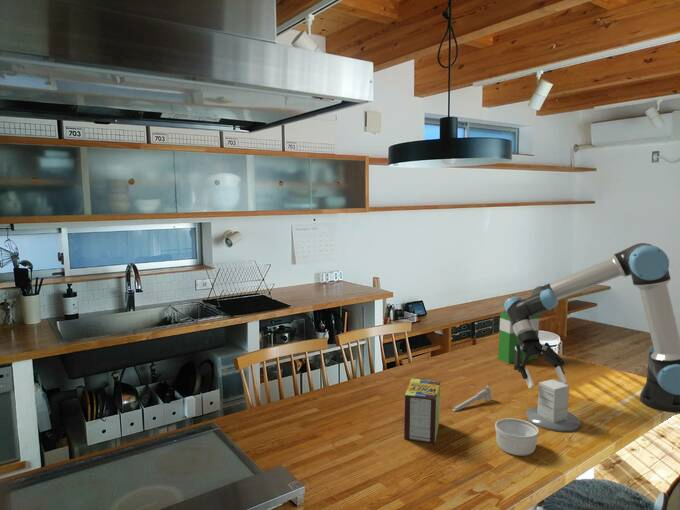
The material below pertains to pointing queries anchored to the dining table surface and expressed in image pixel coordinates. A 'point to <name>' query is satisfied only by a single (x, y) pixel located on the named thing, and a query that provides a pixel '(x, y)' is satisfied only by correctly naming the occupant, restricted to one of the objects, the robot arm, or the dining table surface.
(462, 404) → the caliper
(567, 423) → the disc
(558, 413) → the supplement box
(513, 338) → the green white box
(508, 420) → the ramekin
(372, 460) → the dining table surface
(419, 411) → the protein box
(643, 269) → the robot arm
